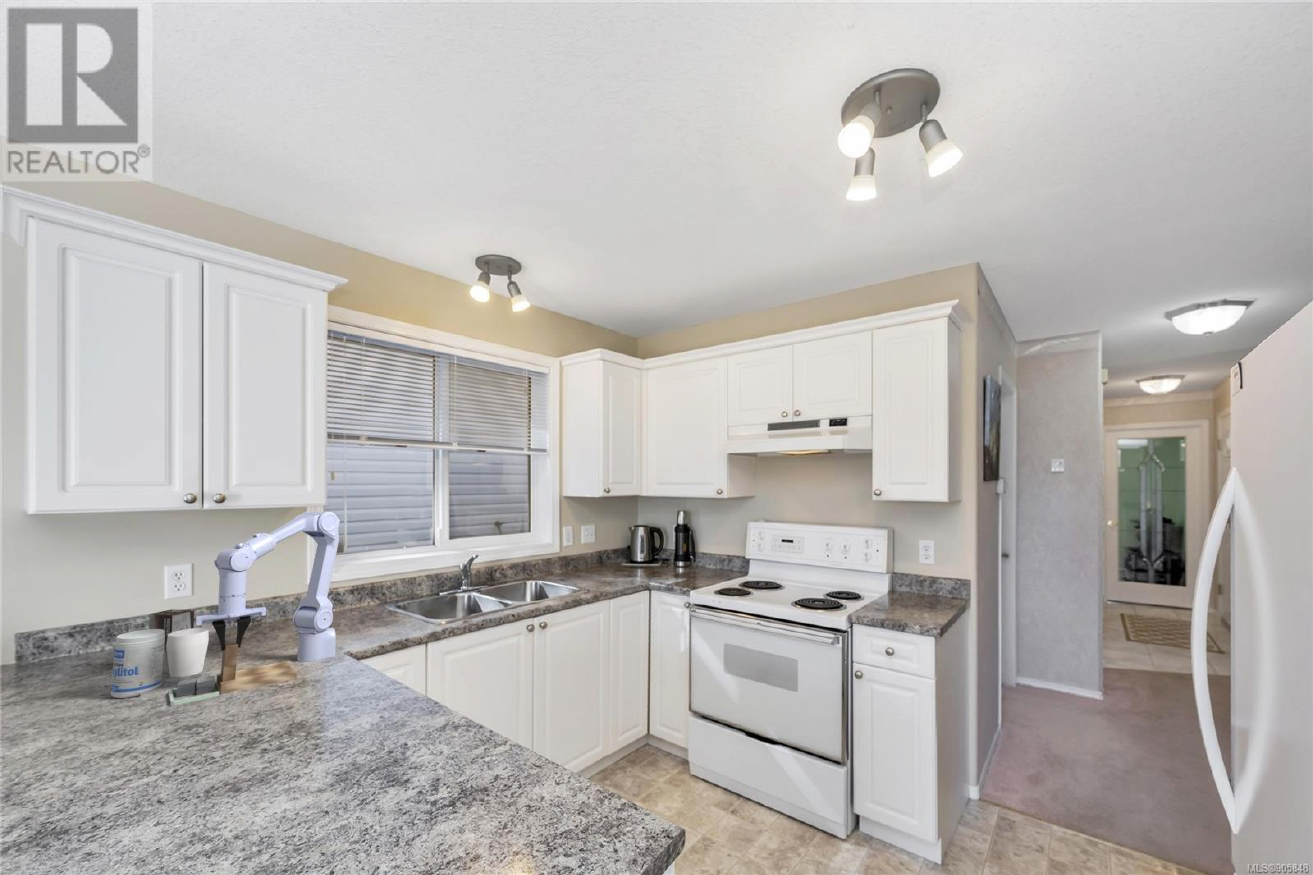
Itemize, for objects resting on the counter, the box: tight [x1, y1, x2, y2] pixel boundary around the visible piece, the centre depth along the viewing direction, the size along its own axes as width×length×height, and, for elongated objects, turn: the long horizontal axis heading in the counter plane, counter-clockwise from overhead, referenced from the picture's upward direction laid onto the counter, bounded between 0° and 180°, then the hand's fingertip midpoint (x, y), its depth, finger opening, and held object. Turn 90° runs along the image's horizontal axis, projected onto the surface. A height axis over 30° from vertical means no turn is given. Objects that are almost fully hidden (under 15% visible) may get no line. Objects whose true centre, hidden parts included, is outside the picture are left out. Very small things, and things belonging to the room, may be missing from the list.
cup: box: [166, 627, 210, 679], centre depth 155 cm, size 9×9×12 cm
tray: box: [167, 687, 220, 707], centre depth 139 cm, size 9×11×2 cm
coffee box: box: [148, 608, 195, 674], centre depth 162 cm, size 9×6×16 cm
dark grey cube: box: [175, 677, 198, 698], centre depth 139 cm, size 4×4×4 cm
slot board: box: [215, 660, 298, 695], centre depth 147 cm, size 16×10×3 cm, turn 133°
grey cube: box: [195, 675, 216, 696], centre depth 141 cm, size 4×4×4 cm
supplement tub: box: [110, 628, 165, 699], centre depth 144 cm, size 10×10×15 cm
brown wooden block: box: [220, 643, 239, 682], centre depth 144 cm, size 2×5×9 cm, turn 43°
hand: (230, 648), depth 145 cm, fingers closed on brown wooden block, 2 cm apart
